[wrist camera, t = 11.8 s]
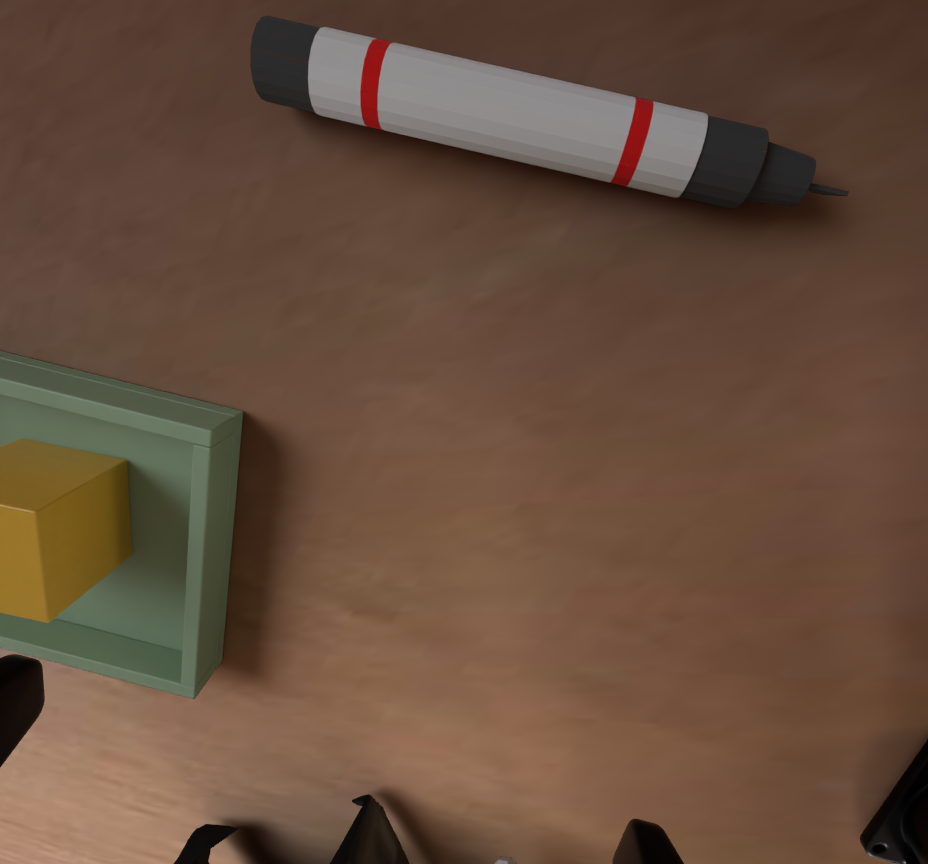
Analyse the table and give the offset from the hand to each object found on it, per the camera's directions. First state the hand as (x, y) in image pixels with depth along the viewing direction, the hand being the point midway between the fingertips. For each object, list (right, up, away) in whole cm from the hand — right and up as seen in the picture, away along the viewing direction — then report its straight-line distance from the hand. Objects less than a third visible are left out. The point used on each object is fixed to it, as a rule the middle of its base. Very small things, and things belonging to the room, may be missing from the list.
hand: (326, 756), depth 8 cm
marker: (+4, +13, +7) cm, 16 cm away
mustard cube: (-12, +2, +12) cm, 18 cm away
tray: (-12, +2, +13) cm, 18 cm away
